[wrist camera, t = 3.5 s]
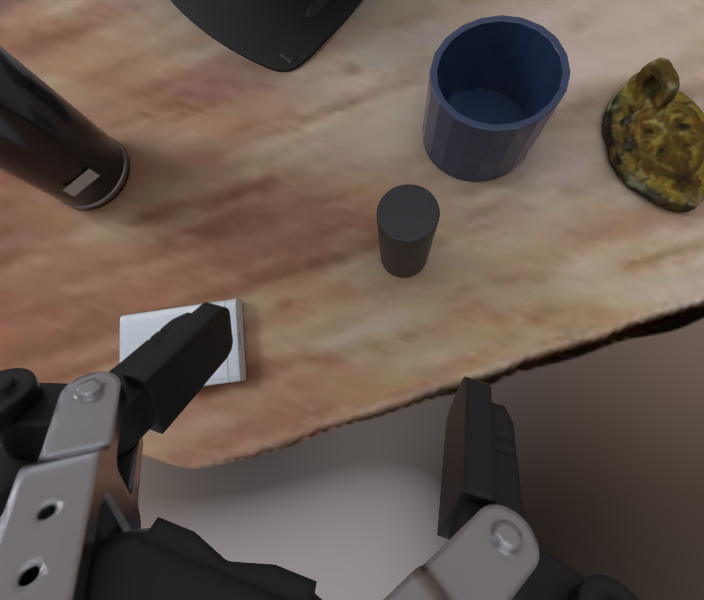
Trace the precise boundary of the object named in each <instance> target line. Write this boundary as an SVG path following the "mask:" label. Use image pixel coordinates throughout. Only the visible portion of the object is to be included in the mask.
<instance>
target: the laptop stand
mask: <svg viewBox="0 0 704 600" xmlns="http://www.w3.org/2000/svg"><path fill="white" fill-rule="evenodd" d="M171 1H172V2H173V4H174V5H175V6H176V7H177V8H178V9H179V10H180V11H181V12H182V13H183V14H184V15H185V16H186V17H188V18H189V19H190V20H191V21H192V22H193V23H194V24H196V25H197V26H198V27H199V28H200V29H202V30H203V31H204V32H206V33H207V34H208V35H210V36H211V37H212V38H214V39H215V40H217V41H218V42H220V43H221V44H223V45H224V46H226V47H228V48H229V49H231V50H233V51H234V52H236V53H238V54H240V55H242V56H243V57H245V58H247V59H249V60H251V61H253V62H255V63H258V64H260V65H262V66H264V67H267V68H269V69H272V70H275V71H282V72H284V71H291V70H293V69H296V68H297V67H299V66H301V65H302V64H303V63H304V62H306V61H307V60H308V59H309V58H310V57H311V56H312V55H313V54H314V53H315V52H316V51H317V50H318V49H319V48H320V47H321V46H322V45H323V44H324V43H325V42H326V41H327V39H328V38H329V37H330V36H331V35H332V34H333V33H334V32H335V31H336V30H337V29H338V28H339V27H340V26H341V25H342V24H343V23H344V22H345V21H346V20H347V18H348V17H349V16H350V14H351V13H352V12H353V10H354V9H355V8H356V7H357V5H358V4H359V2H360V1H361V0H171Z"/></svg>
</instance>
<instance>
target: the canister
mask: <svg viewBox="0 0 704 600" xmlns="http://www.w3.org/2000/svg"><path fill="white" fill-rule="evenodd" d="M439 216H440V211H439V205H438V203H437V201H436V199H435V197H434V196H433V195H432V194H431V193H430V192H429V191H428V190H426V189H424V188H423V187H420V186H417V185H401V186H398V187H395V188H393V189H391V190H390V191H388V192H387V193H386V194H385V195H384V196H383V197H382V199H381V200H380V202H379V205H378V208H377V224H378V233H379V243H380V253H381V261H382V264H383V266H384V268H385V269H386V270H387V271H388V272H389V273H390V274H392V275H394V276H397V277H403V278H405V277H411V276H413V275H415V274H417V273H418V272H420V271H421V270H422V268H423V267H424V265H425V263H426V260H427V257H428V253H429V250H430V247H431V244H432V240H433V237H434V234H435V231H436V227H437V224H438V221H439Z"/></svg>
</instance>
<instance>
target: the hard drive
mask: <svg viewBox="0 0 704 600" xmlns="http://www.w3.org/2000/svg"><path fill="white" fill-rule="evenodd" d="M211 303H212V304H215V305H219V306H222V307H226V308H228V309H229V311H230V319H231V328H232V338H233V345H232V349H231V352H230V354H229V356H228V357H227V359H226V360H225V361H224V362H223V363H222V365H221V366H220V367H219V368H218V369H217V370H216V372H215V373H214V374H213V375H212V376H211V378H210V379H209V380H208V381H207V382H206V383H205V385H204V386H209V385H217V384H224V383H231V382H239V381H246V363H245V348H244V330H243V312H242V302H241V300H239V299H230V300H225V301H217V302H211ZM200 305H202V304H198V305H190V306H184V307H177V308H170V309H164V310H158V311H151V312H144V313H137V314H131V315H124V316H121V318H120V362H122V361H123V360H124V359H125V358H126V357H128V356H129V355H130V354H131V353H132V352H134V351H135V350H136V349H137V348H138V347H139V346H141V345H142V344H143V343H144V342H145V341H147V340H150V337H151V336H153V335H154V334H155V333H156V332H157V331H160V329H161V328H162V327H163V326H165V325H166V324H167V323H168V322H169V321H171V320H172V319H174V318H176V317H178V316H180V315H183V314H185V313H187V312H188V313H192V312H194V311H195V310H196V309H197V308H198V307H199V306H200Z"/></svg>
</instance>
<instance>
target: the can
mask: <svg viewBox="0 0 704 600" xmlns="http://www.w3.org/2000/svg"><path fill="white" fill-rule="evenodd" d="M569 77H570V68H569V62H568V57H567V53H566V52H565V50H564V48H563V47H562V45H561V44H560V42H559V40H558V39H557V38H556V37H555V36H554V35H553V34H552V33H550V32H549V31H548V30H547V29H545V28H544V27H543V26H541V25H539V24H536V23H534V22H531V21H529V20H526V19H524V18H523V19H522V18H519V17H511V16H503V15H502V16H493V17H486V18H481V19H478V20H475V21H473V22H470V23H468V24H465V25H463V26H461V27H460V28H458V29H457V30H456V31H454V32H453V33H452V34H451V35H449V36H448V37H447V38H446V39H445V40H444V41H443V43H442V44H441V46H440V47H439V49H438V50H437V51H436V53H435V55H434V58H433V62H432V65H431V69H430V75H429V83H428V91H427V99H426V107H425V115H424V123H423V142H424V146H425V149H426V152H427V154H428V156H429V157H430V159H431V160H432V161H433V163H434V164H435V165H436V166H437V167H438V168H439V169H441V170H442V171H443V172H445V173H447V174H448V175H450V176H452V177H455V178H458V179H461V180H466V181H488V180H492V179H496V178H499V177H501V176H503V175H505V174H507V173H509V172H510V171H512V170H513V169H515V168H516V167H517V166H518V165H519V164H520V163H521V162H522V161H523V160H524V158H525V156H526V155H527V153H528V152H529V150H530V149H531V147H532V146H533V144H534V142H535V141H536V139H537V138H538V136H539V134H540V133H541V131H542V130H543V128H544V126H545V125H546V123H547V121H548V120H549V118H550V117H551V115H552V113H553V112H554V110H555V109H556V107H557V105H558V104H559V102H560V101H561V99H562V97H563V96H564V94H565V93H566V91H567V86H568V81H569Z"/></svg>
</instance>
